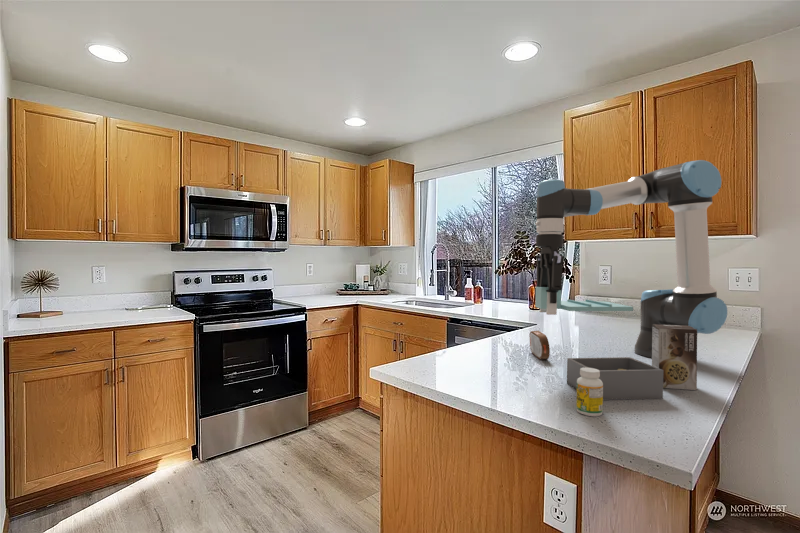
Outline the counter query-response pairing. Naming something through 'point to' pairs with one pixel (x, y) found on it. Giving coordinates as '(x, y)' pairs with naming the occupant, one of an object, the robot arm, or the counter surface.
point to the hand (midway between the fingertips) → (547, 313)
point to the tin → (539, 345)
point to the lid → (577, 303)
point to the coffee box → (675, 355)
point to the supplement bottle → (589, 392)
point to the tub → (620, 377)
